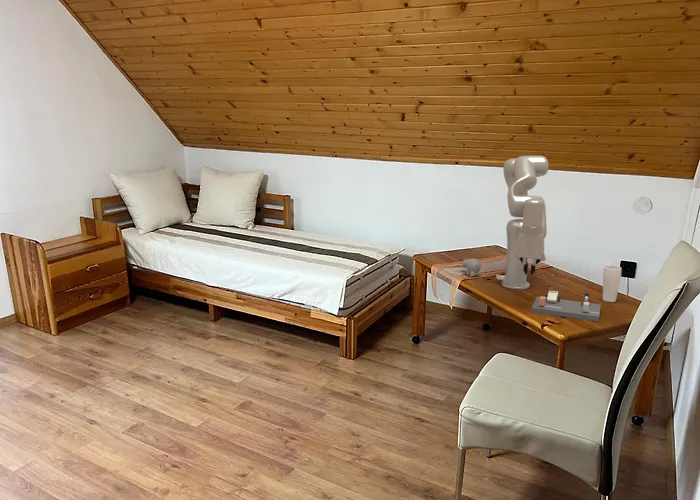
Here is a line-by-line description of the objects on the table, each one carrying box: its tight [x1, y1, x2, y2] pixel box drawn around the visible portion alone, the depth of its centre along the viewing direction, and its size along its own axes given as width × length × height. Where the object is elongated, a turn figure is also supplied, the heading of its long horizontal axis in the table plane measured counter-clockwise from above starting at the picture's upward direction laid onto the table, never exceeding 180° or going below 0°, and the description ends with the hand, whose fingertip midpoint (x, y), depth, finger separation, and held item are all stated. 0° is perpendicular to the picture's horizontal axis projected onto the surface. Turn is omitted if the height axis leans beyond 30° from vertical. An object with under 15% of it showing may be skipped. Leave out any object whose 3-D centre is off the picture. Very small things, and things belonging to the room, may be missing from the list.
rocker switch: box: [547, 290, 559, 302], centre depth 226 cm, size 4×7×1 cm, turn 154°
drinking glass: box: [602, 264, 622, 303], centre depth 230 cm, size 7×7×15 cm
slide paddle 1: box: [539, 295, 546, 306], centre depth 220 cm, size 2×3×3 cm, turn 154°
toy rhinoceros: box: [461, 257, 482, 276], centre depth 271 cm, size 7×12×8 cm, turn 22°
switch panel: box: [531, 292, 602, 322], centre depth 220 cm, size 25×15×5 cm, turn 64°
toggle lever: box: [584, 292, 590, 302], centre depth 221 cm, size 2×2×5 cm
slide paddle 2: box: [583, 301, 589, 312], centre depth 213 cm, size 2×3×3 cm, turn 154°
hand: (529, 273), depth 220 cm, fingers closed
